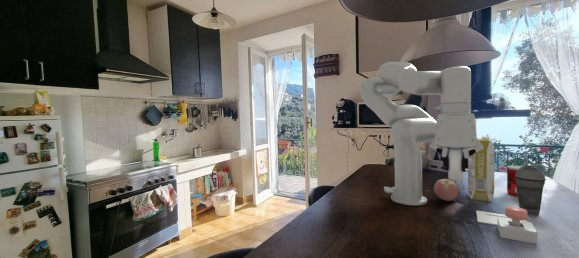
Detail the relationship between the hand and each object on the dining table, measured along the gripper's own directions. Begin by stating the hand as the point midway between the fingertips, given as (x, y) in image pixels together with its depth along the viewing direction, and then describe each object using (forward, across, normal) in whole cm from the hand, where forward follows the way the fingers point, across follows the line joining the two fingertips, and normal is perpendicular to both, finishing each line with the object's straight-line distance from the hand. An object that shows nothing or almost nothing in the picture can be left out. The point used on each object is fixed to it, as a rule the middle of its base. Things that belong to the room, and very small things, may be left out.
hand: (455, 169), depth 76 cm
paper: (+16, +11, +9) cm, 22 cm away
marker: (+3, 0, 0) cm, 3 cm away
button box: (+16, +14, -1) cm, 21 cm away
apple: (+16, -4, +21) cm, 27 cm away
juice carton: (+16, +7, +30) cm, 35 cm away
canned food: (+16, +20, +43) cm, 50 cm away
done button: (+14, +14, -1) cm, 20 cm away
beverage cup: (+16, +19, +20) cm, 32 cm away
